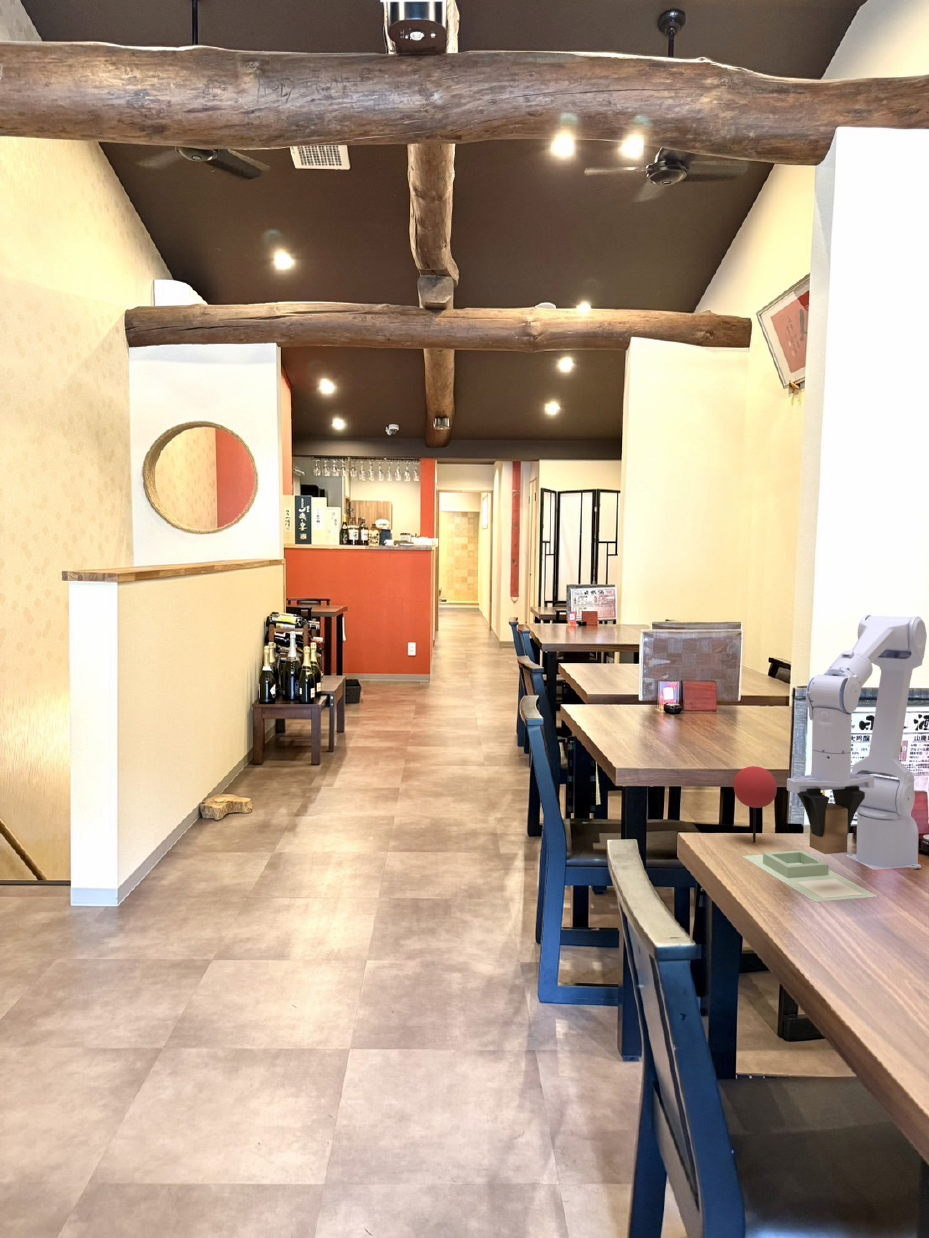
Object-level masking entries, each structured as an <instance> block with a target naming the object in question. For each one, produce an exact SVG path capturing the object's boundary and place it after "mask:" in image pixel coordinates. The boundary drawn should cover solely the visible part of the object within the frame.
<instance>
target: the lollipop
mask: <svg viewBox="0 0 929 1238" xmlns="http://www.w3.org/2000/svg"><path fill="white" fill-rule="evenodd" d="M733 790H734V791H733V792H734V794H735V797H736V798H737V800H738V801H739V802H740V803H741V804H742V805H745V806H746V807H749V808H753V809H752V810H753V811H752V818H753V820H752V843H753V844H756V837H757V836H756V835H757V832H756V831H757V829H756V828H757V809H760V808H765V807H767V806H768V805H770V804H771V803H772V802H773V801H774V799H776V796H777V792H778V791H777V790H778V787H777V782H776V779H775V776H774V775H773V773H771V771H770V770H768V769H766V768H763V767H760V766H754V765H753V766H746V767H744V768H742V769H741V770H739V771H738V772H737V773H736V775H735V777H734V780H733Z"/></svg>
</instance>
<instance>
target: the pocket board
mask: <svg viewBox="0 0 929 1238" xmlns="http://www.w3.org/2000/svg"><path fill="white" fill-rule="evenodd" d="M741 856H742V858H744V859H746V860H747V861H749V862H750V863H752V864H754V865H755V866H756V867H758V868H760V869H761V870H764V872H766V873H767V874H769V875H771V876H773V877H774V878H775V879H777V880H779V881H781V882H782V883H784V884H785V885H787V886H789V887H791V888H792V889H794V890H795V891H796V892H798V893H800V894H801V895H803V896H805V897H806V898H808V899H809V900H811V901H813V902H814V903H818V902H819V903H820V902H829V901H830V902H832V901H841V900H854V899H867V898H878V897H879V895H876V894H874V893H873V892H871V891H869V890H867V889H866V888H863V887H862V886H861V885H858V884H856V883H854V882H853V881H851V880H849V879H847V878H845V877H843V876H842V875H840V874H838V873H836V872H834V871H832V870H831V869H829V865H830V864H829V863H828V862H825V861H823V860H821V859H820V858H818V857H816V856H814V855H813V854H810V853H808V852H807V851H804V850H801V849H800V850H787V851H785V850H784V851H773V852H763V854H754V855H741Z"/></svg>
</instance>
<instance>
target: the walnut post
mask: <svg viewBox="0 0 929 1238" xmlns="http://www.w3.org/2000/svg"><path fill="white" fill-rule="evenodd" d="M848 835H849V833H848V809H847V808H844V807H842V806H839V805H836V804H835V802H828V804H827V808H826V812H825V823H824V834H823V837H818V836H816V835H814V834H812V833H811V828H810V827H809V847H810V848H812V849H814V850H815V851H818V852H820V853H822V854H824V855H832V854H834V855H835V854H845V853H847V854H848Z"/></svg>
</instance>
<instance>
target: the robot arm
mask: <svg viewBox="0 0 929 1238" xmlns="http://www.w3.org/2000/svg"><path fill="white" fill-rule="evenodd" d="M927 637H928V635H927V629H926V623H925V622H924V620H923V619H922V618H921V616H918V615H915V616H892V615H891V616H889V615H888V616H885V615H883V616H882V615H870V614H865V615H863V617H862V619H860V621H859V623H858V626H857V641H856V643H855V644H854V646H853V648H852V649H851V650H843V652H842V653H840V654H839V655H838V656H837V658H836V659H835V660H834V661H833V662H832V664H831V665H830V666H829V667H828V669H827V670H826V671H825V672H824V673H823V674H816V675H815V676H813V677H811V678H810V679H809V681H808V683H807V687H806V692H805V702H806V705H807V708H808V717H809V720H810V721H812V723H811V724H812V726H811V727H812V728H811V729H812V730H811V731H812V733H811V735H812V737H811V738H812V739H811V772H810V774H808V775H802V776H798V777H792V778H789V777H788V778H787V779H786V790H787V791H788V792H789V793H793V794H797V796H798V798H799V800H800V801H801V803H802V806H803V808H804V810H805V814H806V816H807V820H808V823H809V829H810V828H811V833H812V834H814V835H816V836H818V837H823V834H824V823H825V812H826V808H827V804H828V803H829V801H830V796H828V795H825V794H824V793H823V792H822V791H829V790H831V792H832V795H833V801H834V802H833V803H834V804H836V805H839V806H842V807H844V808H847V809H848V834H849V832H850V829H851V827H852V824H853V820H854V817H855V814H856V853H850V854H848V853H847V854H845V856H846V857H847V858H849V859H852V860H853V861H855V862H857V863H860V864H861V865H863V866H866V867H867V868H869V869H871V870H878V871H879V870H887V869H888V870H889V869H901V868H904V869H905V868H911V869H913V870H914V869H921V868H922V865H921V864H920V863H918V861H919V828H918V824H917V822H916V821H915V819H914V817H912V815H911V814H910V813H912V811H913V808H914V805H915V798H916V793H915V781H916V780H915V776H914V774H913V773H912V771H911V770H910V769H909V768H908V767H906V766H905V765H904V764H903V763H902V762H901V760H900V757H901V750H902V742H903V735H904V729H905V723H906V722H905V721H906V716H907V715H906V714H907V708H908V700H909V693H910V685H911V681H912V680H911V679H912V676H913V670H914V669H916V668H919V667H921V666H923V660H924V657H925V652H926V645H927ZM873 665H875V666H878V667H879V670H880V677H879V685H878V690H877V698H876V703H875V704H876V705H875V712H874V717H873V718H874V719H873V724H872V726H873V727H872V731H871V738H870V743H869V744H870V745H869V752H868V756H866V757H864V758H862V759H861V760H859V761H857V762H855V763H854V764H853V765H852V764H851V762H852V761H851V760H852V759H851V758H852V713H854V712H855V711H856V710H857V707H858V704H859V700H860V696H861V694H862V690H861V689H862V688H863V686H864V685H865V683H867V681H868V679H870V677H871V676H872V674H873V669H874V668H873ZM851 766H852V767H851ZM878 775H879V776H878ZM883 776H884V777H883ZM890 777H891V778H890ZM892 777H893V778H892Z"/></svg>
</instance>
